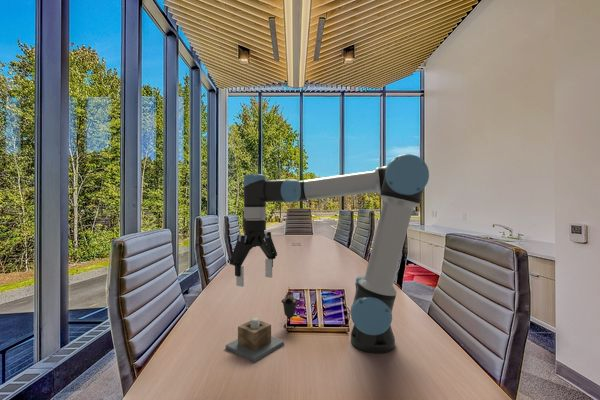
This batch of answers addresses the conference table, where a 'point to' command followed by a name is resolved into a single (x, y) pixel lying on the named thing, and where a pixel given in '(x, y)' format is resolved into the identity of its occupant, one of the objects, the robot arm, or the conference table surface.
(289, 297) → the sundae
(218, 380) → the conference table surface
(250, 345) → the collar
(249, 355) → the post stand
